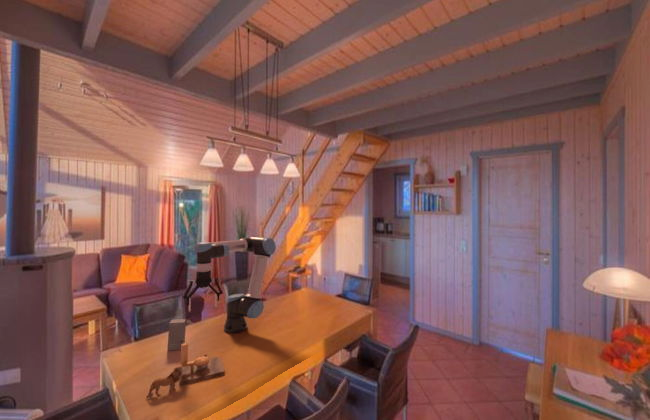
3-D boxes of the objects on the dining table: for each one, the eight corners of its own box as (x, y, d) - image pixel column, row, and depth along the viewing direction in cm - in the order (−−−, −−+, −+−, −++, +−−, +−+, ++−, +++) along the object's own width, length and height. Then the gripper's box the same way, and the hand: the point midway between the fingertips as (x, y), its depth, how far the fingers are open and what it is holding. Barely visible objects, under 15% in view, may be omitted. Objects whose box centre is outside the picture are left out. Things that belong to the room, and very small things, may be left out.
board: (220, 359, 155) (220, 348, 155) (224, 374, 141) (224, 362, 141) (179, 368, 146) (179, 356, 146) (179, 385, 132) (179, 372, 132)
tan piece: (208, 357, 148) (208, 337, 148) (209, 364, 142) (210, 342, 142) (180, 363, 142) (181, 342, 142) (180, 370, 136) (181, 348, 136)
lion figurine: (179, 382, 134) (180, 363, 134) (184, 387, 131) (184, 367, 131) (144, 396, 123) (144, 376, 123) (148, 402, 120) (148, 381, 120)
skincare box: (167, 351, 163) (167, 323, 163) (170, 345, 170) (171, 319, 170) (183, 349, 165) (183, 322, 166) (185, 344, 172) (186, 317, 172)
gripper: (225, 267, 167) (225, 303, 167) (178, 271, 154) (177, 310, 154) (228, 269, 161) (227, 307, 161) (179, 274, 148) (178, 314, 148)
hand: (203, 308), depth 157 cm, fingers open, 13 cm apart
